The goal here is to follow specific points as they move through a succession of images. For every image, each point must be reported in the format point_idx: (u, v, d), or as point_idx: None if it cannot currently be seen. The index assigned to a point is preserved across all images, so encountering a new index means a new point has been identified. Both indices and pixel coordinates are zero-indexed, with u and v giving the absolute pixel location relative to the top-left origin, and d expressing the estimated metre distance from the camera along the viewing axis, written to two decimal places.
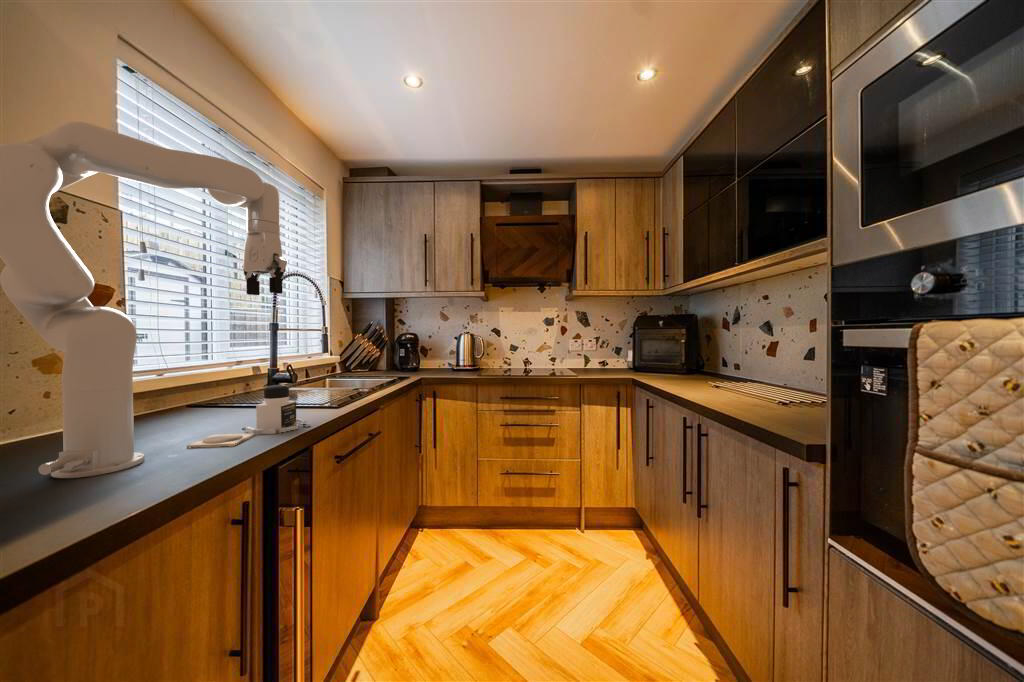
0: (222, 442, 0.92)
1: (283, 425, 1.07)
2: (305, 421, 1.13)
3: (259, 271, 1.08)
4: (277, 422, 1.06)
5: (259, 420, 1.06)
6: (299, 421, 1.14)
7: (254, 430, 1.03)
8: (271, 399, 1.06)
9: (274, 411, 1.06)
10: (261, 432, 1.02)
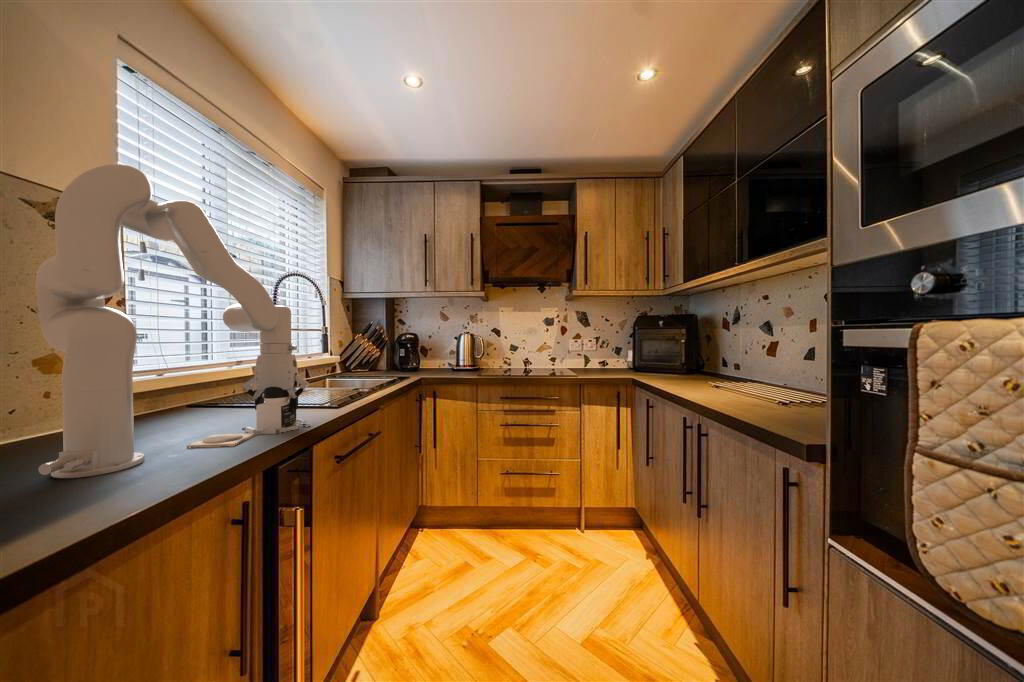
0: (222, 442, 0.92)
1: (283, 425, 1.07)
2: (305, 421, 1.13)
3: None
4: (277, 422, 1.06)
5: (259, 420, 1.06)
6: (299, 421, 1.14)
7: (254, 430, 1.03)
8: (271, 399, 1.06)
9: (274, 411, 1.06)
10: (261, 432, 1.02)
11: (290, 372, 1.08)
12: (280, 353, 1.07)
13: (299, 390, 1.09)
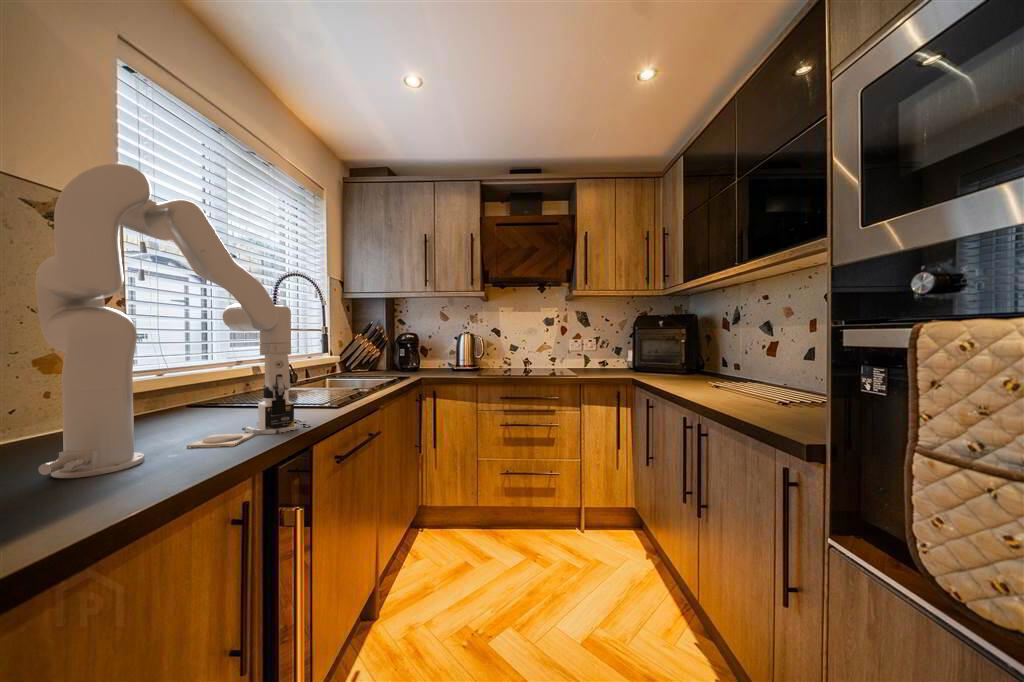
0: (222, 442, 0.92)
1: (268, 426, 1.05)
2: (305, 421, 1.13)
3: None
4: (263, 422, 1.05)
5: (258, 418, 1.08)
6: (299, 421, 1.14)
7: (254, 430, 1.03)
8: (264, 398, 1.07)
9: (263, 411, 1.06)
10: (261, 432, 1.02)
11: (269, 373, 1.04)
12: (264, 353, 1.05)
13: (276, 393, 1.04)
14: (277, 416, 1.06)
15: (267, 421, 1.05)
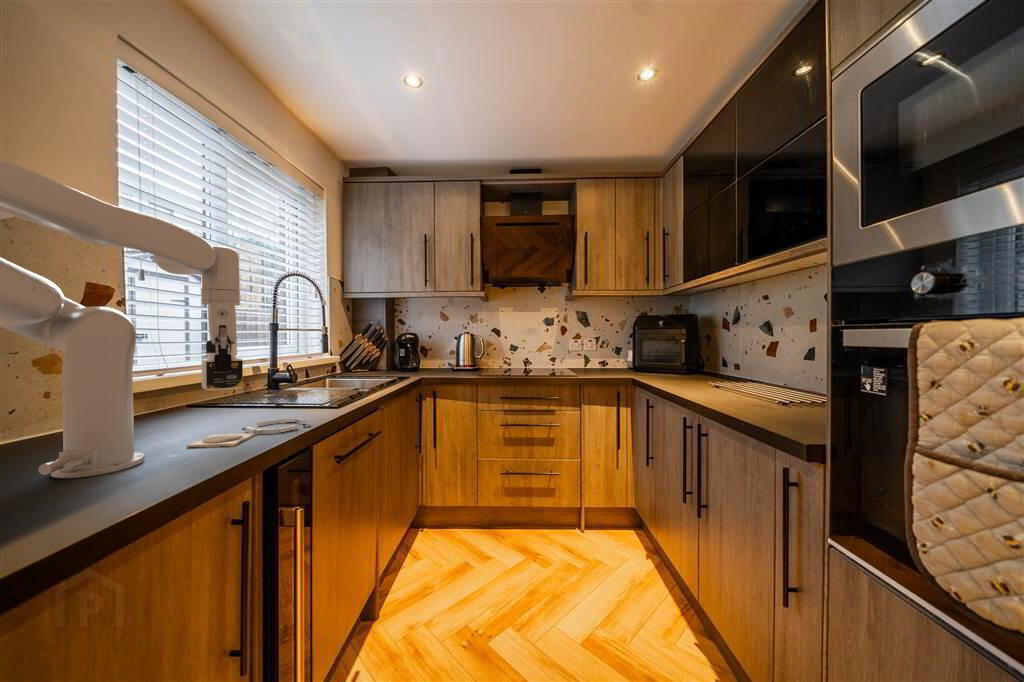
0: (222, 442, 0.92)
1: (210, 384, 0.91)
2: (305, 421, 1.13)
3: None
4: (205, 380, 0.91)
5: (202, 376, 0.95)
6: (299, 421, 1.14)
7: (254, 430, 1.03)
8: (207, 353, 0.93)
9: (204, 368, 0.92)
10: (261, 432, 1.02)
11: (211, 323, 0.90)
12: (206, 300, 0.91)
13: (218, 346, 0.90)
14: (221, 373, 0.92)
15: (209, 378, 0.91)
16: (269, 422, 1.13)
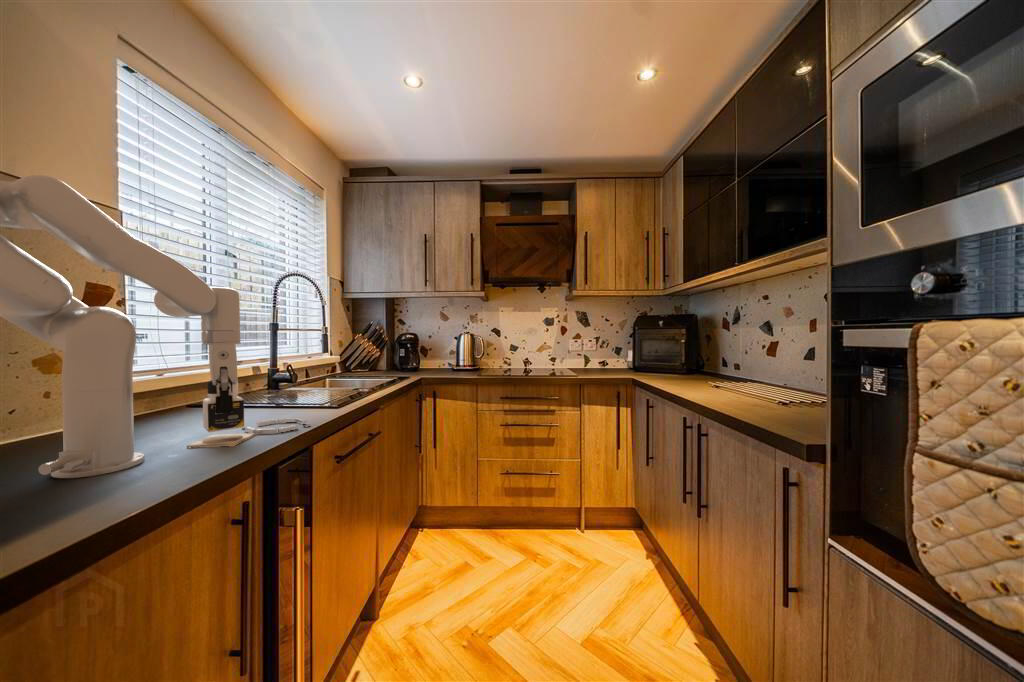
0: (222, 442, 0.92)
1: (212, 426, 0.91)
2: (305, 421, 1.13)
3: None
4: (207, 422, 0.91)
5: (203, 416, 0.95)
6: (299, 421, 1.14)
7: (254, 430, 1.03)
8: (208, 394, 0.93)
9: (206, 409, 0.92)
10: (261, 432, 1.02)
11: (212, 365, 0.91)
12: (206, 342, 0.92)
13: None
14: (223, 414, 0.93)
15: (210, 420, 0.91)
16: (269, 422, 1.13)
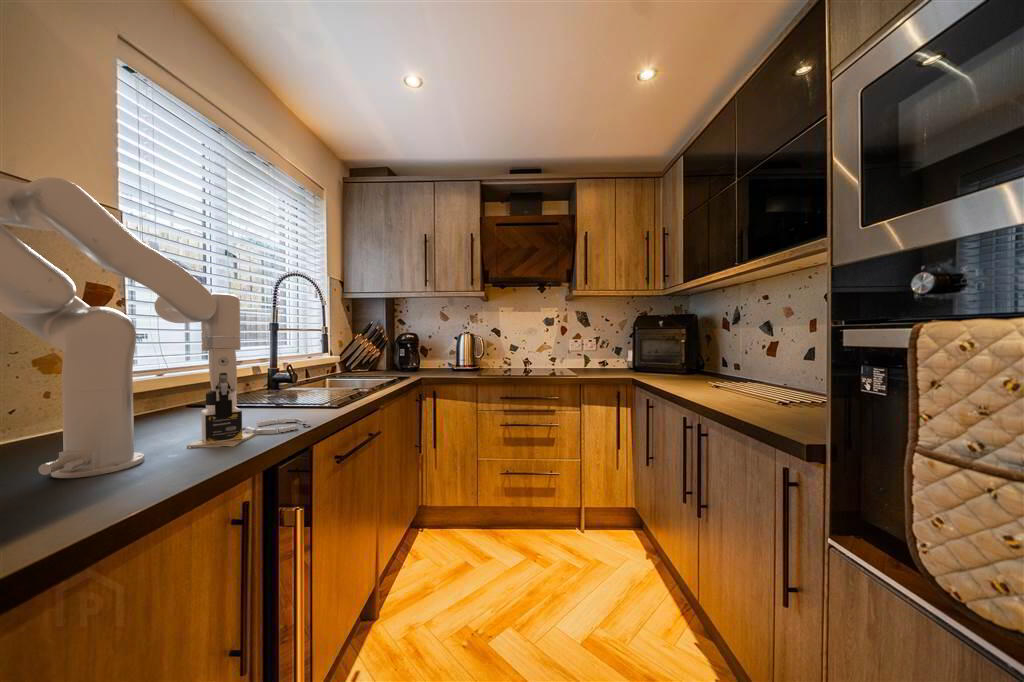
0: (222, 442, 0.92)
1: (209, 438, 0.91)
2: (305, 421, 1.13)
3: None
4: (204, 433, 0.91)
5: None
6: (299, 421, 1.14)
7: (254, 430, 1.03)
8: (206, 405, 0.93)
9: (204, 420, 0.92)
10: (261, 432, 1.02)
11: (212, 371, 0.91)
12: (206, 348, 0.92)
13: (219, 393, 0.89)
14: (221, 426, 0.92)
15: (208, 432, 0.91)
16: (269, 422, 1.13)
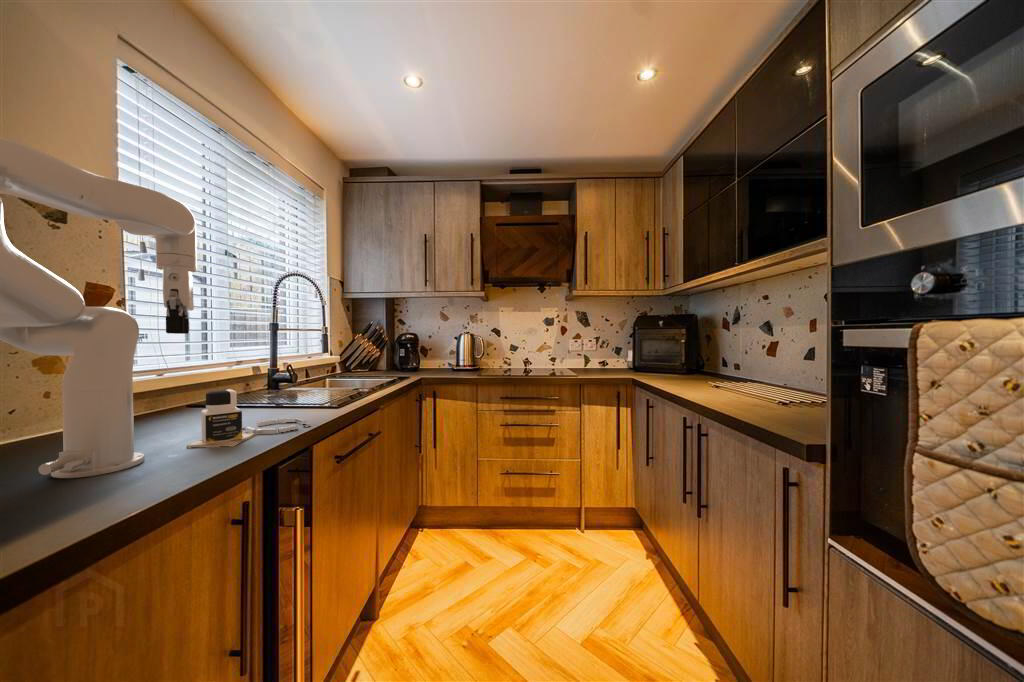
0: (222, 442, 0.92)
1: (209, 438, 0.91)
2: (305, 421, 1.13)
3: None
4: (204, 433, 0.91)
5: None
6: (299, 421, 1.14)
7: (254, 430, 1.03)
8: (206, 405, 0.93)
9: (204, 420, 0.92)
10: (261, 432, 1.02)
11: (163, 286, 0.91)
12: (159, 265, 0.92)
13: None
14: (221, 426, 0.92)
15: (208, 432, 0.91)
16: (269, 422, 1.13)
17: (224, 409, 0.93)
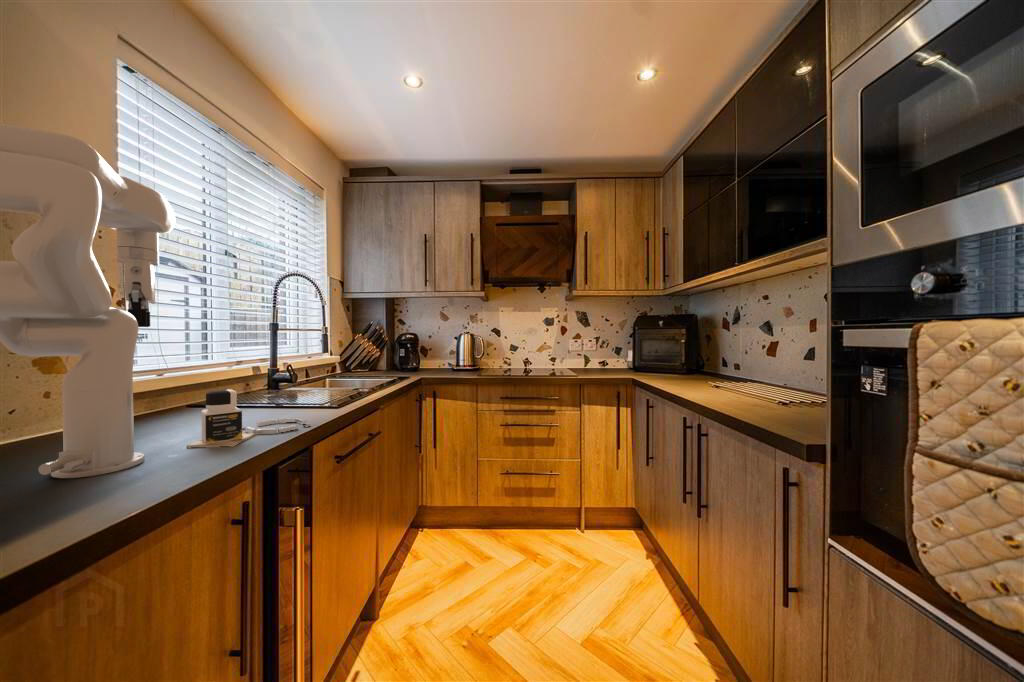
0: (222, 442, 0.92)
1: (209, 438, 0.91)
2: (305, 421, 1.13)
3: None
4: (204, 433, 0.91)
5: None
6: (299, 421, 1.14)
7: (254, 430, 1.03)
8: (206, 405, 0.93)
9: (204, 420, 0.92)
10: (261, 432, 1.02)
11: (124, 279, 0.92)
12: (120, 258, 0.93)
13: None
14: (221, 426, 0.92)
15: (208, 432, 0.91)
16: (269, 422, 1.13)
17: (224, 409, 0.93)
